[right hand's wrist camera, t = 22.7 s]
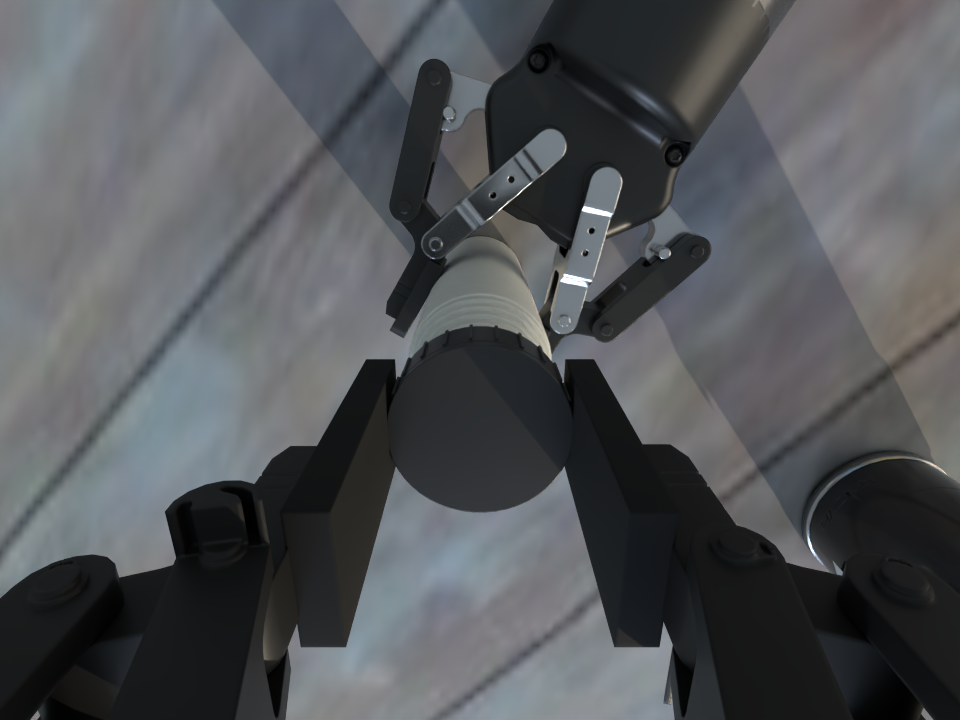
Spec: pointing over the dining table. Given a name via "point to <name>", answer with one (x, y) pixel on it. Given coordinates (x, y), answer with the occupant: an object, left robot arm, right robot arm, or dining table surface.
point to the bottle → (480, 295)
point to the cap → (480, 420)
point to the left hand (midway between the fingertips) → (451, 357)
